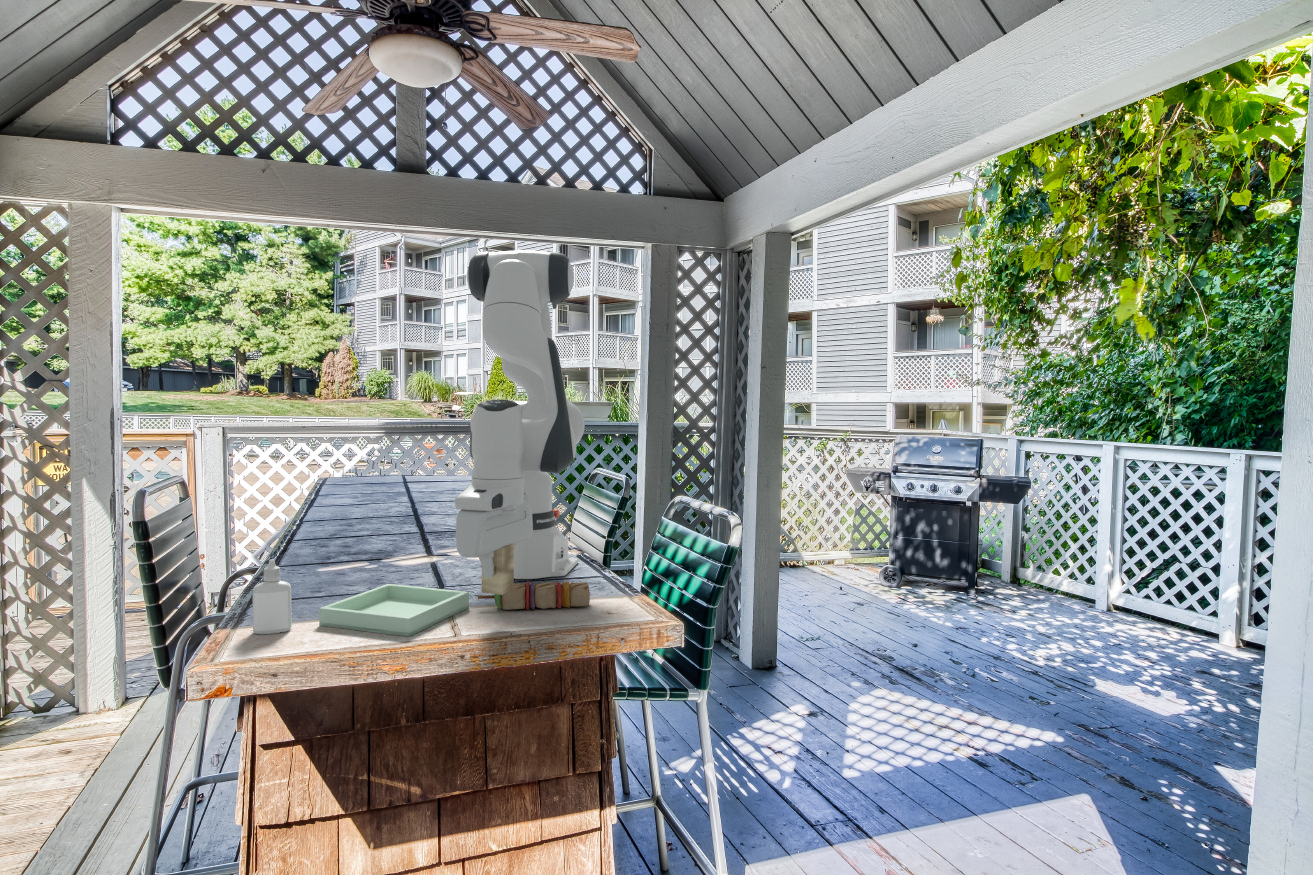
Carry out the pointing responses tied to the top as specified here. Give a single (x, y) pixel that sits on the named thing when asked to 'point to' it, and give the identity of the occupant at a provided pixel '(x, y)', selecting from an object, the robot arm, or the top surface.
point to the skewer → (543, 595)
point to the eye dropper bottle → (272, 603)
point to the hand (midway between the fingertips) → (497, 572)
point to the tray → (394, 609)
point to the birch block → (501, 572)
